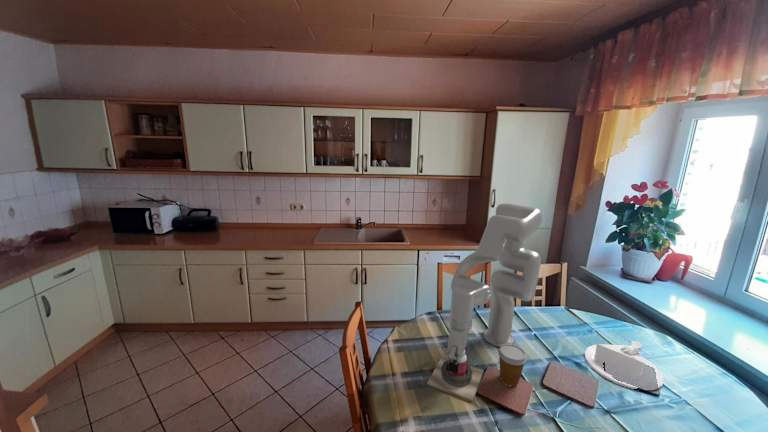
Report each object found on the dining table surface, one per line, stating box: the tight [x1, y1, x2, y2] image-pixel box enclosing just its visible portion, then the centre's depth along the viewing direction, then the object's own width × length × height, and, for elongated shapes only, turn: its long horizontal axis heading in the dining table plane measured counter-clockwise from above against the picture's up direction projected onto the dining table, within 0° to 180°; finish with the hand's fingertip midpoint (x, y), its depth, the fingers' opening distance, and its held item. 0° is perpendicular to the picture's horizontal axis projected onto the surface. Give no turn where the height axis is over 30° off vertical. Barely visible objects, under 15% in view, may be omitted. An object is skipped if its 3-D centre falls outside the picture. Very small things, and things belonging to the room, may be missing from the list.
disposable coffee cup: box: [497, 344, 528, 387], centre depth 116 cm, size 10×10×12 cm
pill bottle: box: [448, 350, 468, 377], centre depth 116 cm, size 6×6×11 cm
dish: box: [584, 340, 665, 390], centre depth 124 cm, size 25×25×11 cm
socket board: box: [427, 356, 484, 403], centre depth 117 cm, size 16×16×4 cm
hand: (457, 363), depth 116 cm, fingers open, 9 cm apart
